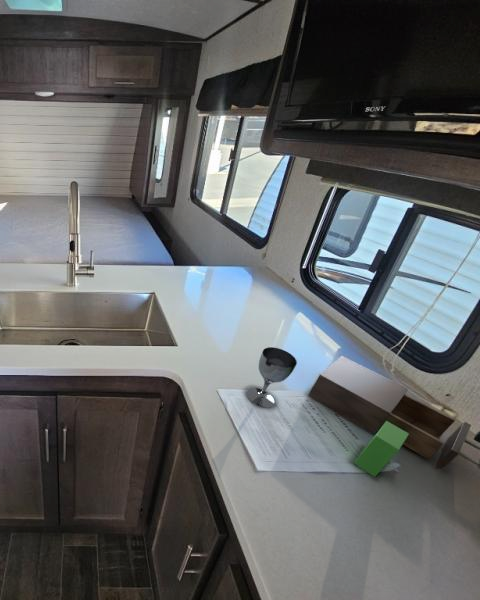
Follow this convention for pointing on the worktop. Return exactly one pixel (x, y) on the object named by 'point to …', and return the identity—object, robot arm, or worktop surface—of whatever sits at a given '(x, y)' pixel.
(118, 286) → the worktop surface
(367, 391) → the cabinet
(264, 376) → the wine glass
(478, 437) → the robot arm
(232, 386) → the worktop surface
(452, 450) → the drawer
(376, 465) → the green rectangular prism
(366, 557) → the worktop surface
